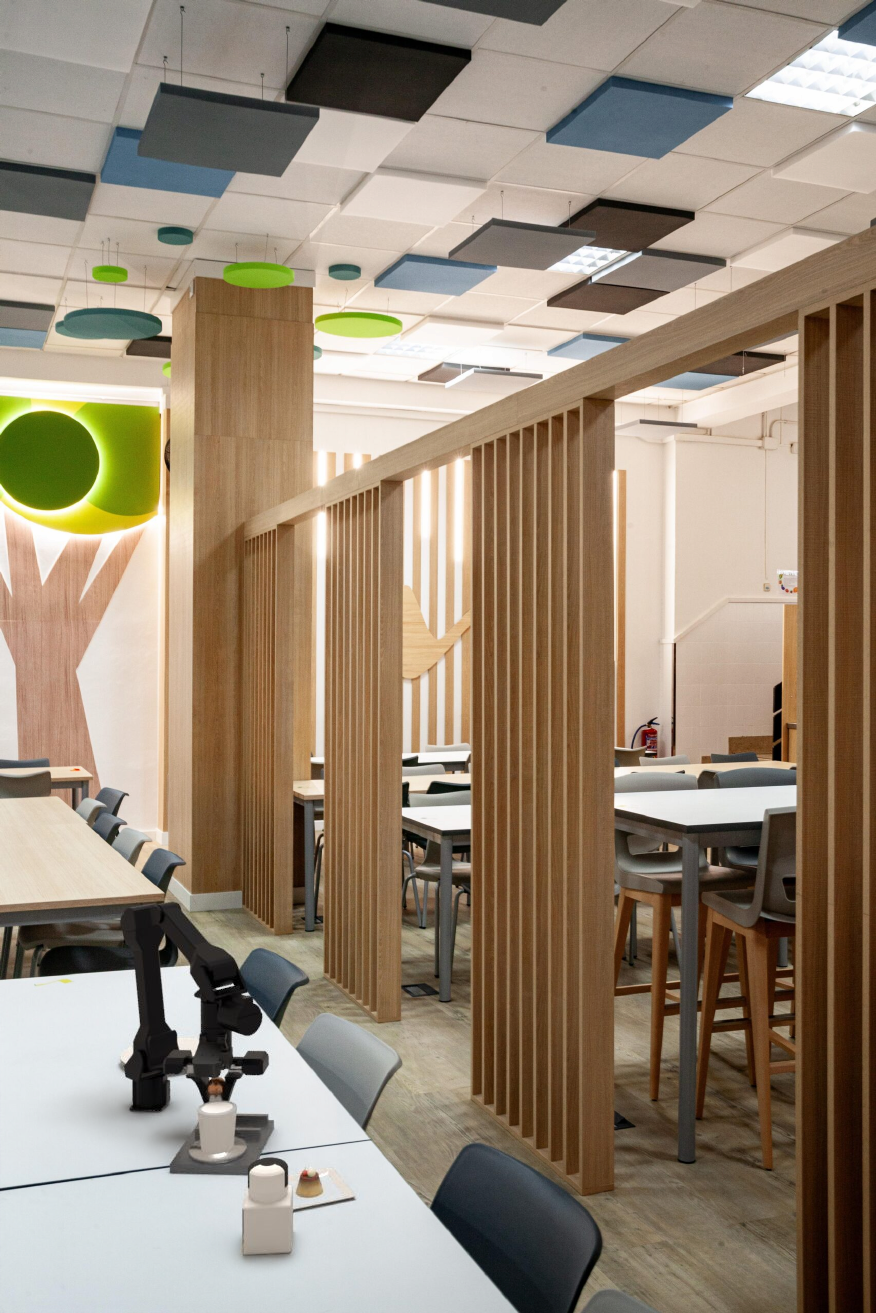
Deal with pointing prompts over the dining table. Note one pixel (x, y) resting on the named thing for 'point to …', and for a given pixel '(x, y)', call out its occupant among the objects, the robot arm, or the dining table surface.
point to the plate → (182, 1044)
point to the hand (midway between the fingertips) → (216, 1108)
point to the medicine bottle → (267, 1208)
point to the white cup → (217, 1126)
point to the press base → (246, 1150)
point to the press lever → (216, 1089)
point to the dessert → (318, 1185)
